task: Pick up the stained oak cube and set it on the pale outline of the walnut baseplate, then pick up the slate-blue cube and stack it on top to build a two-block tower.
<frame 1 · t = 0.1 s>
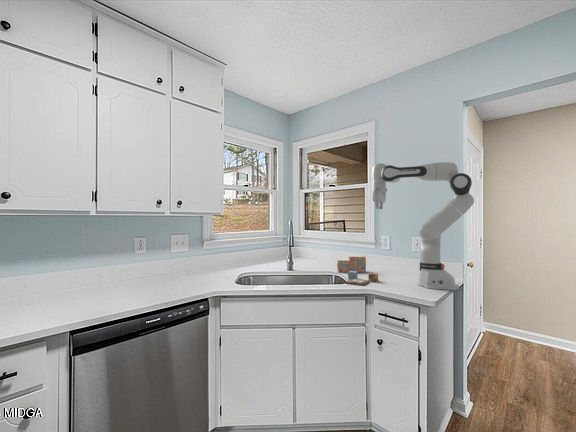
hand: (379, 208, 199), 48 cm above the counter, fingers open, 8 cm apart
oak block: (373, 281, 197), on the counter
slate block: (352, 278, 204), on the counter
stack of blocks: (351, 272, 232), on the counter
baseplate: (357, 282, 191), on the counter
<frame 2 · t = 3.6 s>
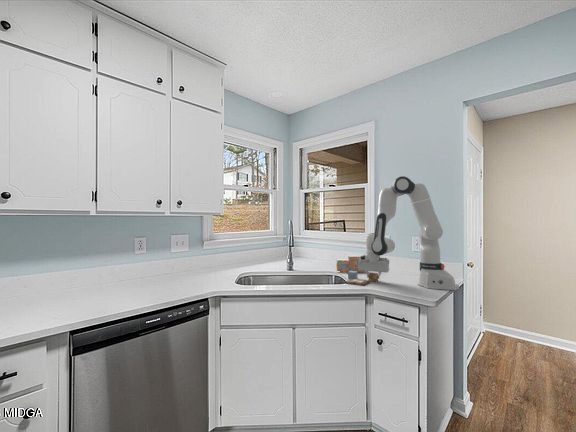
hand: (373, 278, 197), 2 cm above the counter, fingers closed on oak block, 5 cm apart
oak block: (373, 280, 197), on the counter, touching gripper
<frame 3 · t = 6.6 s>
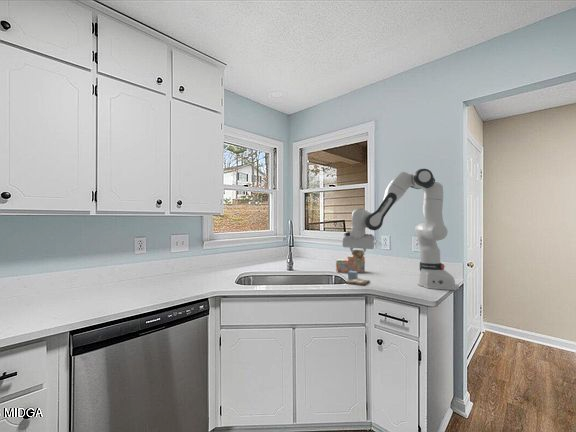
hand: (358, 255, 192), 18 cm above the counter, fingers closed on oak block, 5 cm apart
oak block: (358, 258, 192), point 16 cm above the counter, touching gripper
when the fingers open (4 cm above the counter, at t = 9.6 s): oak block stays where it is, resting on baseplate.
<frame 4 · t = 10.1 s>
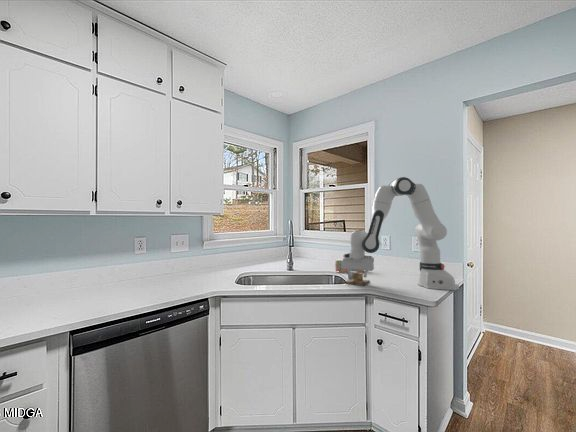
hand: (357, 276, 191), 4 cm above the counter, fingers open, 8 cm apart
oak block: (357, 280, 191), point 1 cm above the counter, touching baseplate
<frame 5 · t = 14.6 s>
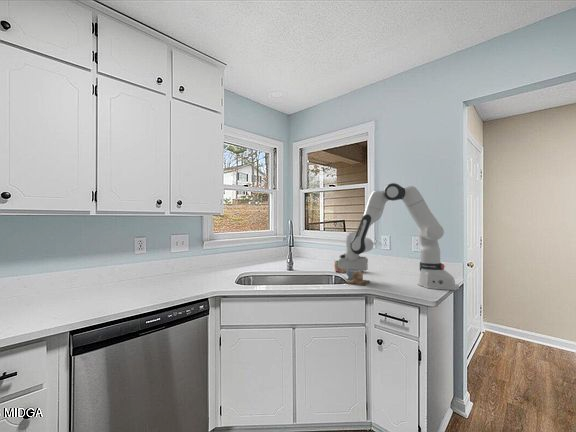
hand: (352, 276, 204), 2 cm above the counter, fingers closed on slate block, 5 cm apart
slate block: (352, 278, 204), on the counter, touching gripper
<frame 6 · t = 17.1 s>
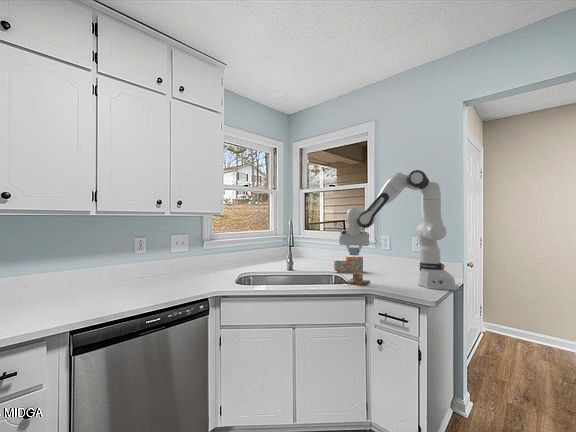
hand: (354, 252, 201), 19 cm above the counter, fingers closed on slate block, 5 cm apart
slate block: (354, 255, 201), point 17 cm above the counter, touching gripper
when the fingers open (9 cm above the counter, at t = 20.0 s): slate block stays where it is, resting on oak block.
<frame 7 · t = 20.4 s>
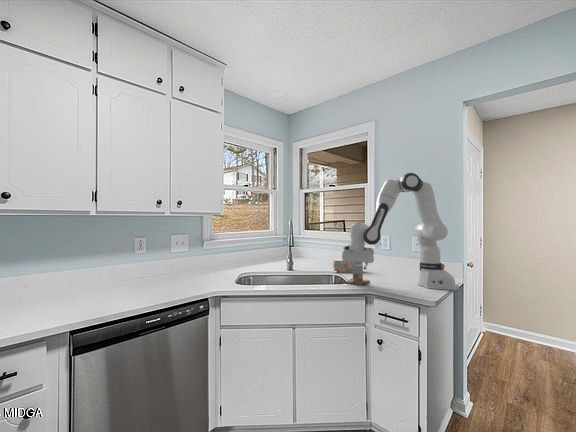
hand: (357, 268, 191), 9 cm above the counter, fingers open, 8 cm apart
oak block: (357, 280, 191), point 1 cm above the counter, touching baseplate, slate block
slate block: (357, 273, 191), point 6 cm above the counter, touching oak block
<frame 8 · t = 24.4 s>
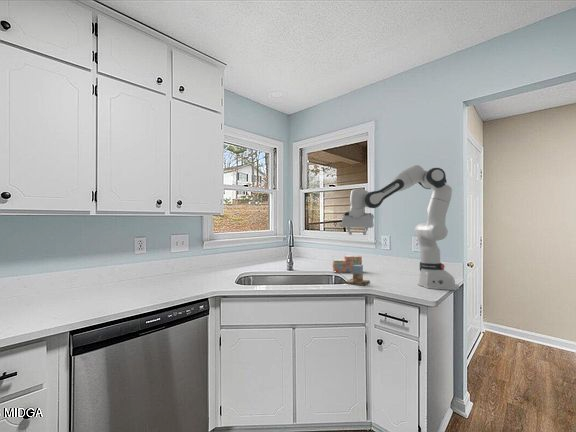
hand: (357, 234, 191), 31 cm above the counter, fingers open, 8 cm apart
at the end: oak block 0.0 cm off-centre on the baseplate, point 1.3 cm above the baseplate's base; slate block 0.1 cm off-centre on the baseplate, point 6.3 cm above the baseplate's base; slate block tilted 0° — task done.
